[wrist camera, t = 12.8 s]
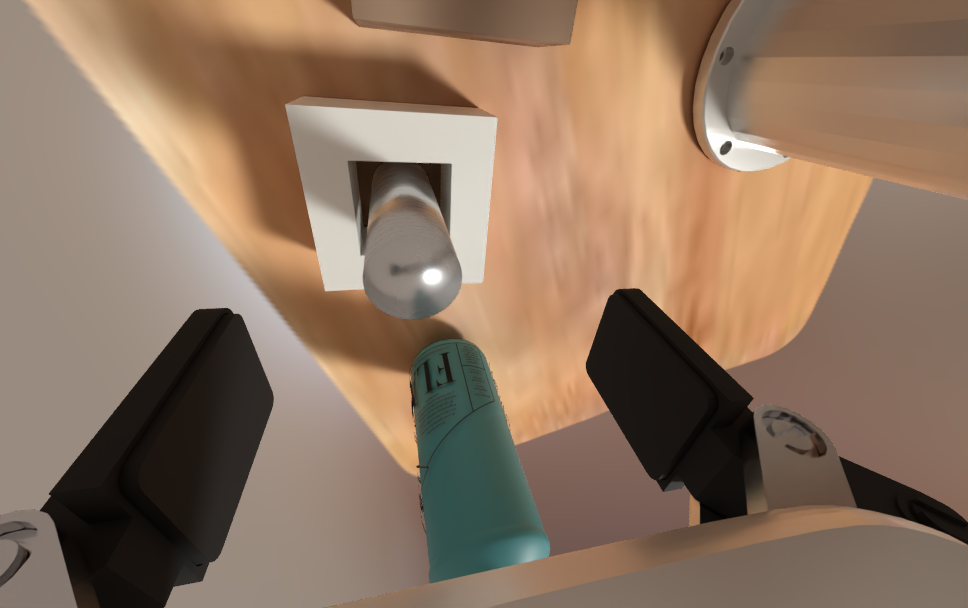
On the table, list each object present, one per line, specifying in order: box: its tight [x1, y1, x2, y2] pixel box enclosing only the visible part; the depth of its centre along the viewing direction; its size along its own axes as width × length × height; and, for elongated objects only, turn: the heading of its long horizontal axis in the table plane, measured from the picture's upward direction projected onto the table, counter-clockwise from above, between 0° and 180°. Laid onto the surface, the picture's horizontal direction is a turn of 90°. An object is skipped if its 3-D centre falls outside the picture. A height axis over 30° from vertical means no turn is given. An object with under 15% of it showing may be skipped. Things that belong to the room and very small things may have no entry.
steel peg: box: [363, 162, 462, 320], centre depth 16 cm, size 3×3×11 cm
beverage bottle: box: [409, 339, 550, 584], centre depth 21 cm, size 6×7×20 cm
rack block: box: [285, 96, 498, 291], centre depth 19 cm, size 9×9×4 cm
